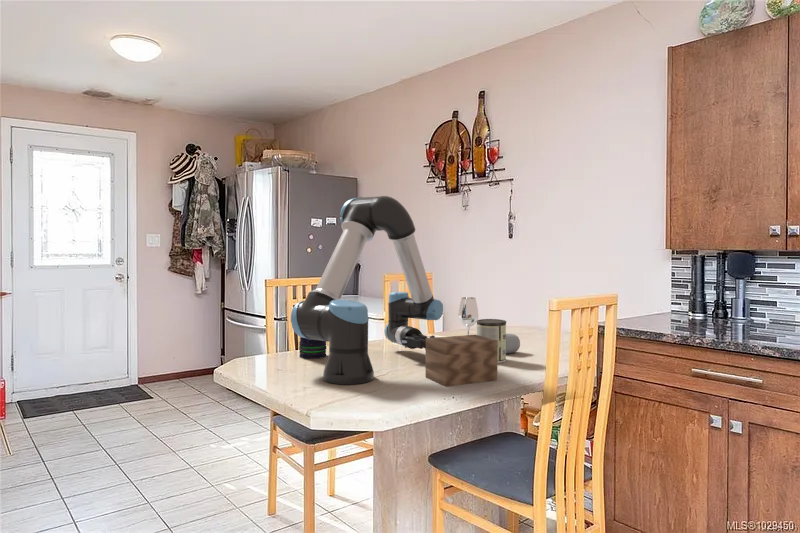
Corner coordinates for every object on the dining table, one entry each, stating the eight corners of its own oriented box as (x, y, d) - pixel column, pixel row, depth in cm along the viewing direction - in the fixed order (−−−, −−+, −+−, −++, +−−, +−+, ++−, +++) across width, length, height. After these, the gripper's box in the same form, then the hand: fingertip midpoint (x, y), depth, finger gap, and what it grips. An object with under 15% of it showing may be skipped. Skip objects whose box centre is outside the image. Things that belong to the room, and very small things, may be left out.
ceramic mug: (521, 353, 208) (521, 333, 208) (506, 355, 204) (506, 335, 203) (501, 349, 217) (501, 330, 217) (486, 351, 212) (486, 331, 212)
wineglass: (479, 350, 214) (479, 298, 213) (459, 350, 214) (459, 298, 214) (476, 346, 222) (477, 297, 221) (457, 346, 222) (457, 296, 221)
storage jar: (318, 359, 195) (318, 317, 195) (293, 357, 199) (293, 316, 198) (331, 354, 204) (331, 314, 204) (307, 353, 208) (307, 313, 207)
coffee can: (475, 357, 201) (476, 318, 200) (504, 358, 200) (505, 319, 199) (476, 363, 191) (477, 322, 190) (507, 363, 190) (507, 322, 189)
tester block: (445, 386, 158) (445, 344, 158) (425, 377, 169) (425, 338, 169) (497, 380, 166) (497, 340, 166) (475, 371, 177) (475, 334, 177)
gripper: (425, 346, 204) (457, 357, 183) (392, 348, 199) (422, 361, 177) (425, 325, 204) (457, 335, 182) (392, 327, 198) (422, 337, 177)
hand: (440, 347), depth 180 cm, fingers closed
